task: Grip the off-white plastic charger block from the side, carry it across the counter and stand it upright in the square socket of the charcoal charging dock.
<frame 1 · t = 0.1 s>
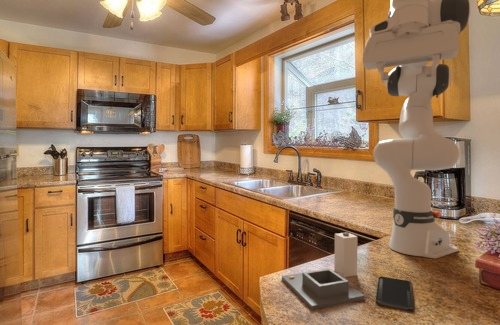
hand: (406, 78, 70), 52 cm above the countertop, tool tilted 20°, fingers open, 8 cm apart
charger: (345, 273, 84), on the countertop
phone: (394, 295, 72), on the countertop
dock: (320, 288, 75), on the countertop
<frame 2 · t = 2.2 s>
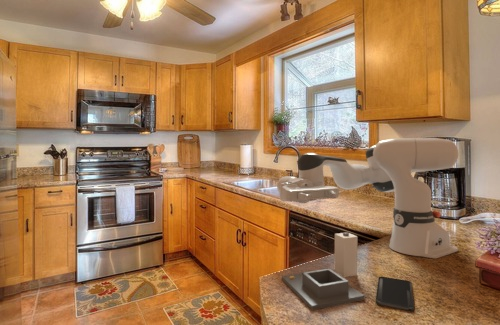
hand: (322, 196, 95), 20 cm above the countertop, tool horizontal, fingers open, 8 cm apart
nothing on the countertop moved.
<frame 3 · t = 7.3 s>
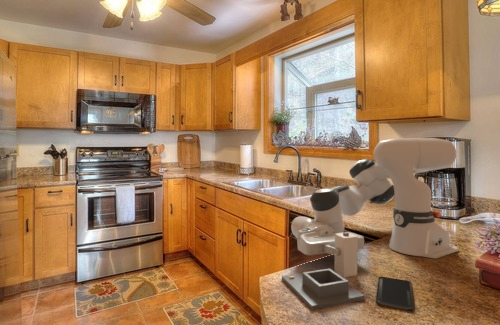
hand: (347, 251, 83), 7 cm above the countertop, tool horizontal, fingers closed on charger, 4 cm apart
charger: (345, 273, 84), on the countertop, touching gripper
everything else where it was.
when the fingers open (9 cm above the countertop, at t = 12.8 s): charger drops 1 cm, resting on dock.
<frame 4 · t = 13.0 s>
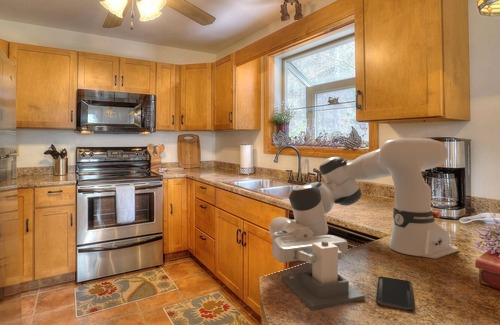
hand: (326, 258, 72), 9 cm above the countertop, tool horizontal, fingers open, 6 cm apart
charger: (324, 288, 73), point 1 cm above the countertop, touching dock
everything else where it was.
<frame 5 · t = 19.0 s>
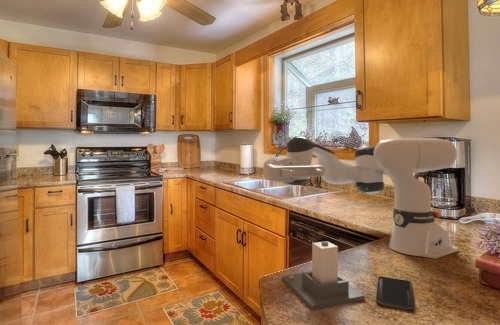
hand: (306, 172, 93), 28 cm above the countertop, tool horizontal, fingers open, 8 cm apart
nothing on the countertop moved.
at the end: charger 0.1 cm from the target spot on the dock, point 1.0 cm above the dock's base; charger tilted 0°; the gripper is holding nothing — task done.
